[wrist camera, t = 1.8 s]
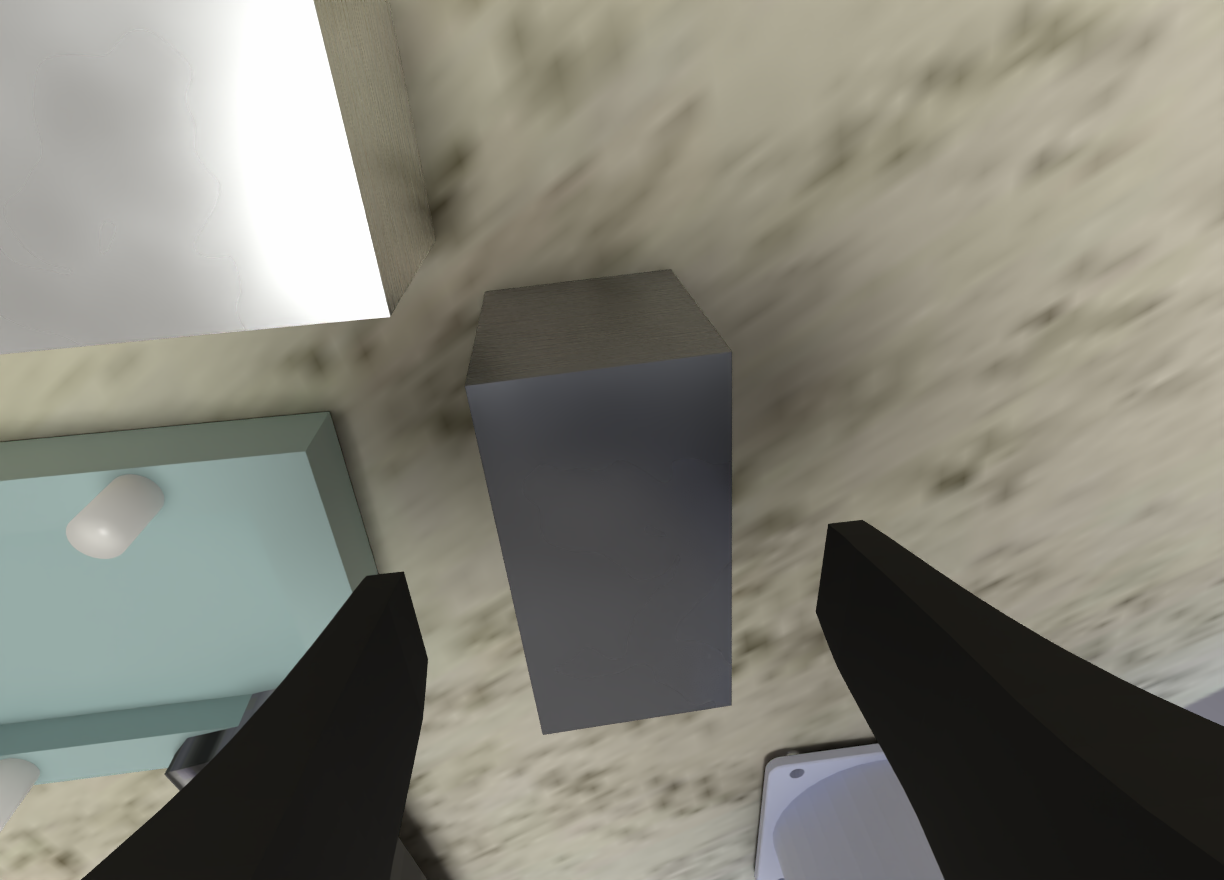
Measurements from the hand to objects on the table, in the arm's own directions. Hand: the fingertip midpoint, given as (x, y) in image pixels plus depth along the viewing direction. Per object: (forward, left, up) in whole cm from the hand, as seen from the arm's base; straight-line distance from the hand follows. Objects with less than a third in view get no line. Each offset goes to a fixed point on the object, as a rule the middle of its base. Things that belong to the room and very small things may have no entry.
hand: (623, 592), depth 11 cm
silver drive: (+7, -7, -6) cm, 11 cm away
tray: (+12, +3, -5) cm, 14 cm away
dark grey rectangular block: (0, 0, -6) cm, 6 cm away
